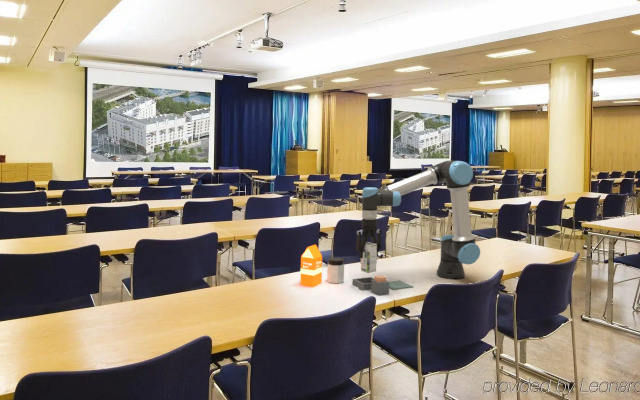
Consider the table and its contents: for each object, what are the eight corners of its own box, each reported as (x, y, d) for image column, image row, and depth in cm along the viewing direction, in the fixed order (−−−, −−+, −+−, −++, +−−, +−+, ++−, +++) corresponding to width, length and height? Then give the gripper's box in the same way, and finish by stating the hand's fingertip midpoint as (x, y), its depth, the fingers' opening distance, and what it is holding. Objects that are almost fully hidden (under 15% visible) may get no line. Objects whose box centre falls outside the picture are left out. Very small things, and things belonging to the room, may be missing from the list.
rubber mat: (399, 281, 256) (399, 280, 256) (413, 287, 245) (413, 286, 245) (380, 283, 251) (380, 282, 251) (393, 289, 240) (393, 288, 240)
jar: (324, 282, 250) (325, 259, 249) (329, 278, 258) (329, 256, 257) (341, 284, 248) (342, 261, 247) (345, 280, 256) (346, 258, 254)
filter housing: (370, 282, 252) (371, 271, 252) (393, 293, 234) (393, 281, 233) (352, 284, 248) (352, 273, 247) (373, 295, 229) (373, 283, 229)
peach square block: (381, 283, 237) (381, 275, 236) (385, 285, 233) (386, 277, 233) (374, 284, 235) (374, 276, 234) (378, 286, 231) (379, 278, 231)
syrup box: (360, 271, 245) (360, 242, 243) (369, 269, 248) (369, 241, 247) (368, 273, 240) (368, 244, 239) (376, 271, 244) (377, 243, 242)
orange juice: (321, 283, 249) (322, 245, 247) (313, 287, 241) (314, 247, 239) (308, 281, 253) (309, 243, 251) (300, 285, 245) (300, 246, 243)
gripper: (356, 220, 234) (355, 267, 237) (390, 218, 242) (388, 263, 245) (348, 218, 241) (348, 263, 243) (381, 216, 249) (380, 260, 251)
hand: (368, 263), depth 244 cm, fingers closed on syrup box, 6 cm apart
